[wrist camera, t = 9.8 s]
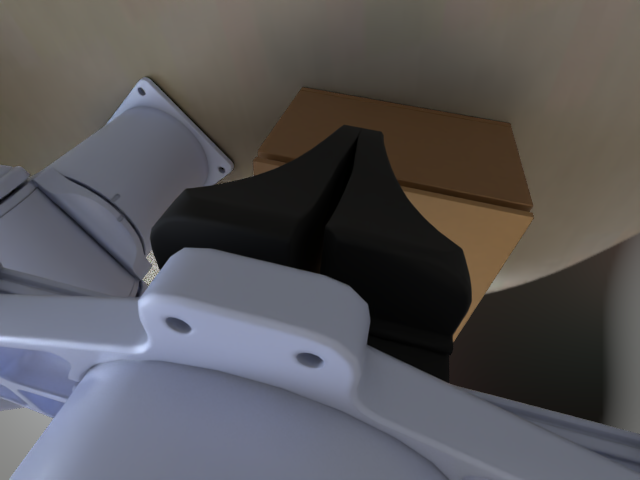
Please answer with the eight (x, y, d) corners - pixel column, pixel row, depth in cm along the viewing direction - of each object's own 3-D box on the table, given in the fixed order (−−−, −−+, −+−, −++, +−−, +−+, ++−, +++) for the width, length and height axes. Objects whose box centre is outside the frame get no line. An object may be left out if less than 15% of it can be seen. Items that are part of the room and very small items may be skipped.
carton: (510, 123, 20) (537, 217, 15) (439, 273, 29) (438, 367, 24) (302, 86, 22) (250, 159, 16) (296, 240, 31) (262, 322, 25)
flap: (533, 212, 15) (534, 217, 15) (437, 362, 24) (437, 367, 24) (389, 183, 16) (389, 187, 15) (350, 339, 25) (349, 344, 24)
